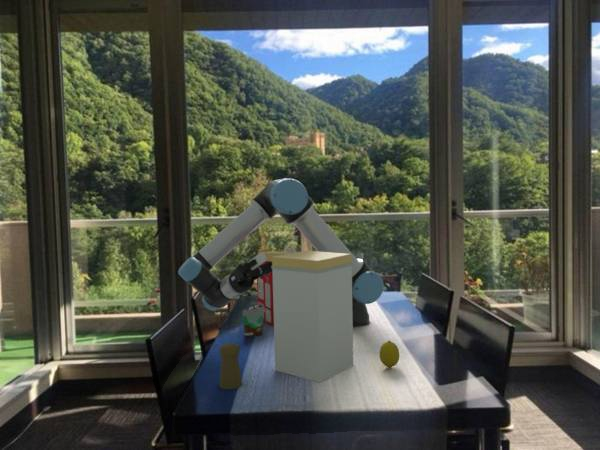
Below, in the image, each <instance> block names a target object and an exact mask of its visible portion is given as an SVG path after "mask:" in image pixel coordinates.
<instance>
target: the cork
mask: <svg viewBox="0 0 600 450" xmlns="http://www.w3.org/2000/svg"><path fill="white" fill-rule="evenodd" d="M240 350H241V349H240V346H239V345H238V344H237V343H233V342H228V343H224V344H222V345H220V348H219V353H220V357H221V365H220V373H219V374H220V375H219V388H220V389H223V390H235V389H236V390H237V389H239V388H240V387H242V385H243V381H242V375H241V368H240V362H239V355H240Z"/></svg>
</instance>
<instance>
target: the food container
mask: <svg viewBox="0 0 600 450" xmlns="http://www.w3.org/2000/svg"><path fill="white" fill-rule="evenodd" d="M264 312H265V308H264V306H263V304H260V303H258V302H252V303H251V306H249V307H247V308H246V309H242V317H243V320H242V321H243V331H244V332H243V333H244V338H256V337H259V336H262V335H263V332H264V331H263V328H264V321H263V313H264Z"/></svg>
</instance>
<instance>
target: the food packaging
mask: <svg viewBox="0 0 600 450" xmlns="http://www.w3.org/2000/svg"><path fill="white" fill-rule="evenodd" d="M268 262H270V261H265V262H264V263H263V264H266V263H268ZM263 264H261V265H263ZM259 269H260V267H259ZM256 294H257V295H256V299H257V302H256V303H260V304H263V306H264V308H265V312H264V313H263V323H264V322H265V323H266V324H267V325H270V326H271V327H274V309H273V272H271V273H269V274H267V275H265V276H264V277H259V278H258V279H256Z"/></svg>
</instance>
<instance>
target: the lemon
mask: <svg viewBox="0 0 600 450" xmlns="http://www.w3.org/2000/svg"><path fill="white" fill-rule="evenodd" d="M379 359H380V362H381V363H382V364H383V366H385V367H387V368H388V369H391V368H393V367H395V366H396V365H397V364H398V363H399V360H400V350H399V348H398V346H397V344H396V343H395V342H392V341H391V340H387V341H385V342H384V343H383V344H382V345H381V346H380V349H379Z"/></svg>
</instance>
